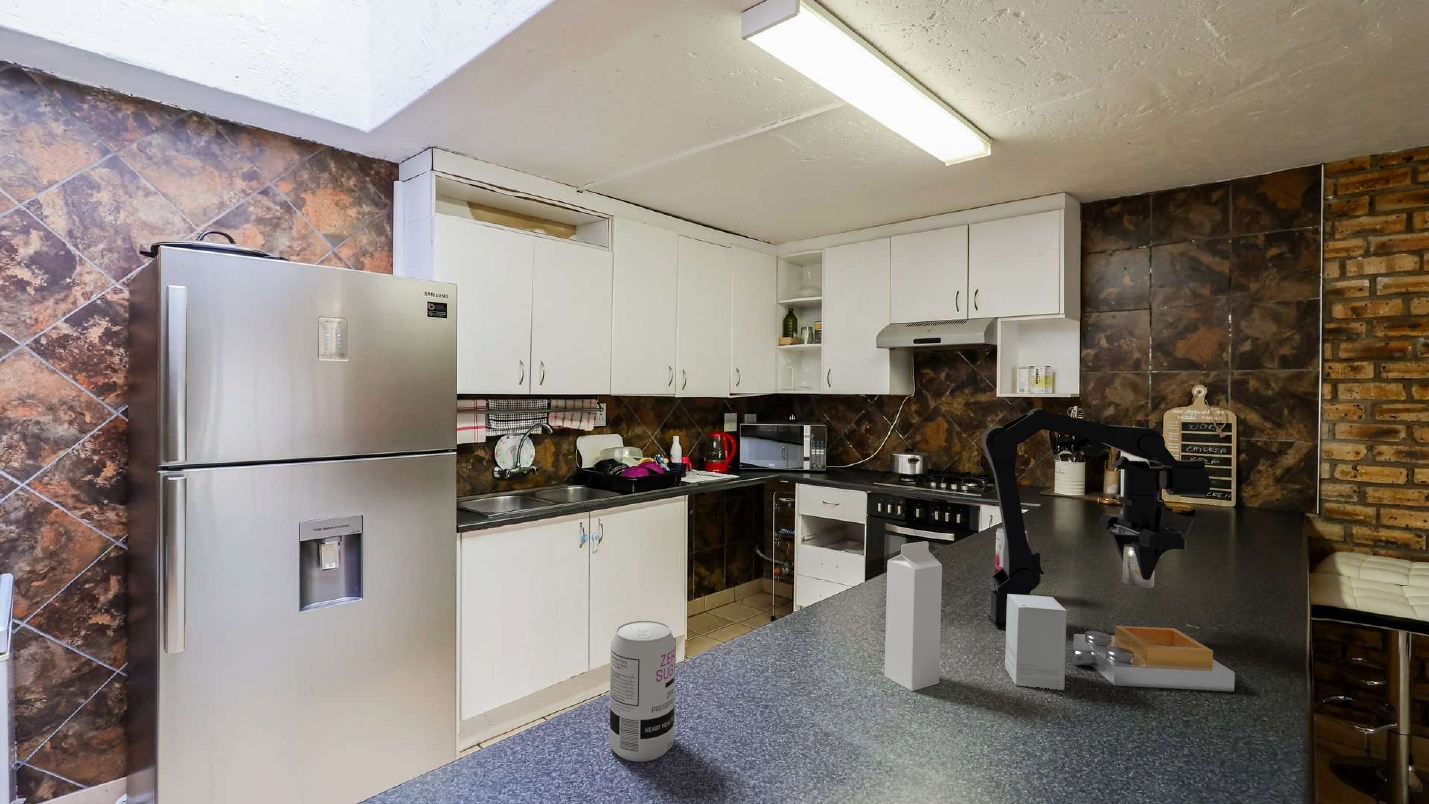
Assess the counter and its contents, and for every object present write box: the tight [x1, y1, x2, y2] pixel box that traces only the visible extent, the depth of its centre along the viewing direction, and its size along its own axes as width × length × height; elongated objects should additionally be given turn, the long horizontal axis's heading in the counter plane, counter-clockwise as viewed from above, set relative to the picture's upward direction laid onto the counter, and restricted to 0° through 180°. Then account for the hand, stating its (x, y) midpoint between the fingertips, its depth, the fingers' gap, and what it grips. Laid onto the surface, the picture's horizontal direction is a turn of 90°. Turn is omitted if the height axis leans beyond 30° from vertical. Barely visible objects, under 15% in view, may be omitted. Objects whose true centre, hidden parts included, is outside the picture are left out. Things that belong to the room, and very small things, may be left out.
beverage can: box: [993, 527, 1029, 591], centre depth 150 cm, size 6×7×15 cm
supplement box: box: [1004, 594, 1068, 691], centre depth 107 cm, size 7×7×13 cm
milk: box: [884, 541, 943, 692], centre depth 105 cm, size 6×6×22 cm
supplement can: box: [608, 620, 677, 762], centre depth 85 cm, size 8×8×15 cm
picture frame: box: [1070, 625, 1236, 692], centre depth 112 cm, size 21×14×6 cm, turn 86°
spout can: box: [1122, 542, 1167, 589], centre depth 126 cm, size 7×5×8 cm
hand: (1138, 575), depth 126 cm, fingers closed on spout can, 5 cm apart
